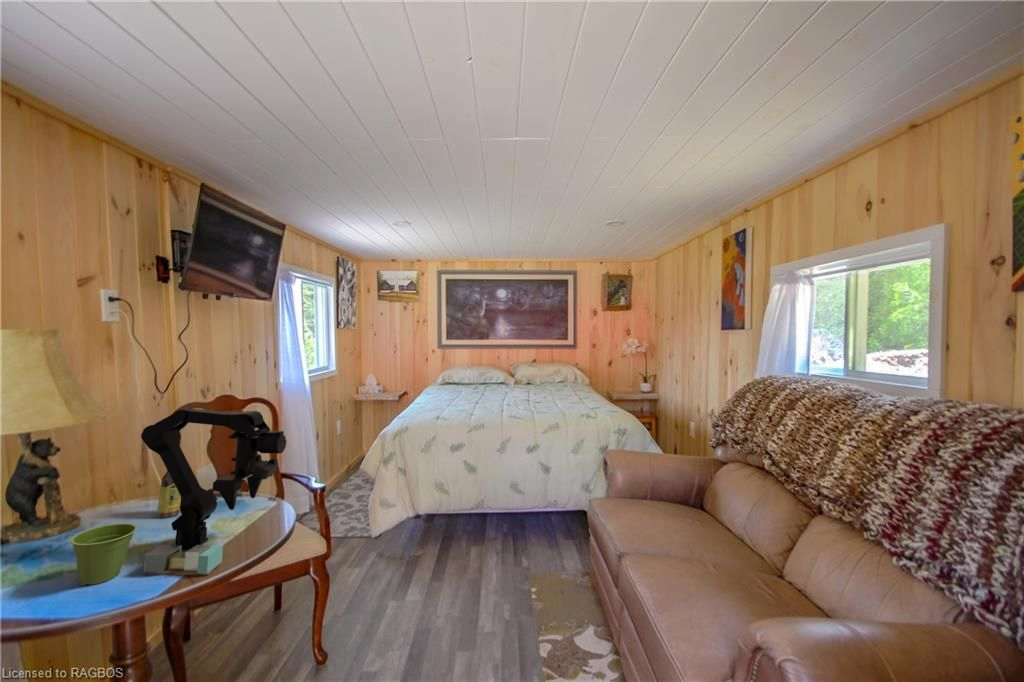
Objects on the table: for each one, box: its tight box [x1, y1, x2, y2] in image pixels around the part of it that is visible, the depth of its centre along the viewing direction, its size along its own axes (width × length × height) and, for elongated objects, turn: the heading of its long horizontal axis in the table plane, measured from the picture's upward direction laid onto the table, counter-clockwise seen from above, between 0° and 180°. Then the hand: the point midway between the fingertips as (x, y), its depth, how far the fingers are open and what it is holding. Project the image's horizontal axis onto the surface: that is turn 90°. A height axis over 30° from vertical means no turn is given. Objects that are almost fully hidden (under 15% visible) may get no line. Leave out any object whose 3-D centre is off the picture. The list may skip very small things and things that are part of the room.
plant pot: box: [69, 522, 138, 586], centre depth 97 cm, size 12×12×11 cm
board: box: [143, 562, 222, 576], centre depth 102 cm, size 16×5×1 cm, turn 93°
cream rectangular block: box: [166, 544, 211, 571], centre depth 102 cm, size 11×4×5 cm, turn 93°
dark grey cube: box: [143, 544, 182, 573], centre depth 102 cm, size 5×5×4 cm
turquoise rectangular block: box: [197, 544, 224, 574], centre depth 102 cm, size 2×6×5 cm, turn 4°
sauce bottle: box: [157, 470, 181, 519], centre depth 133 cm, size 7×6×20 cm
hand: (242, 503), depth 116 cm, fingers open, 9 cm apart
